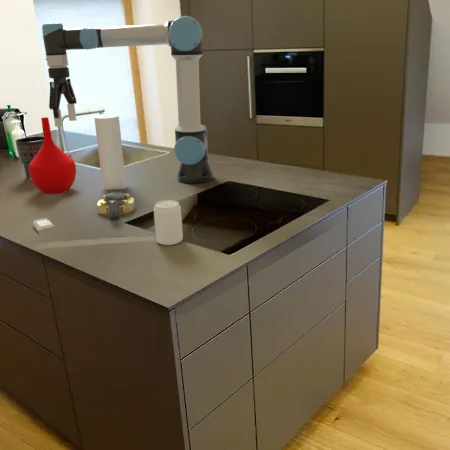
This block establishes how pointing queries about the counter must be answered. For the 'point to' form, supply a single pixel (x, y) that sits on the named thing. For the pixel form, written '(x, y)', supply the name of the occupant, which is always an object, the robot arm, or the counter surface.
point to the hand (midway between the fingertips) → (66, 123)
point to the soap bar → (42, 224)
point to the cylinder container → (110, 151)
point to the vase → (51, 166)
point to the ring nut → (115, 207)
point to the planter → (28, 150)
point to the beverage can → (168, 222)
